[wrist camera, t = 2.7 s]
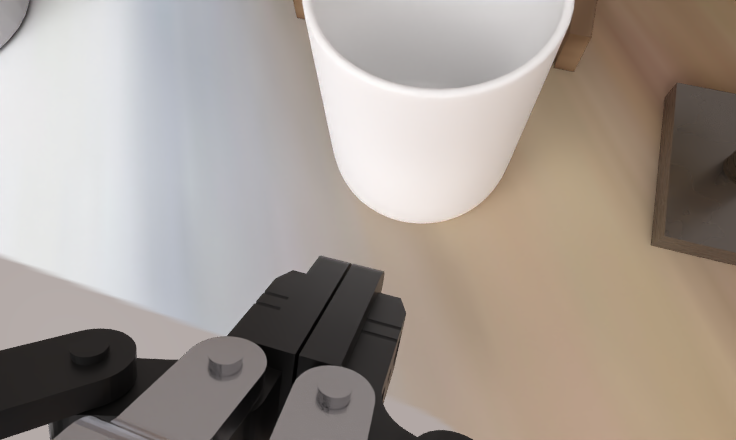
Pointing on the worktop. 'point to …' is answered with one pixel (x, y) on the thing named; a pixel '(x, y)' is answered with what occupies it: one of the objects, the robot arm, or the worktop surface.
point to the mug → (430, 94)
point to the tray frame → (571, 42)
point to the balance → (697, 174)
